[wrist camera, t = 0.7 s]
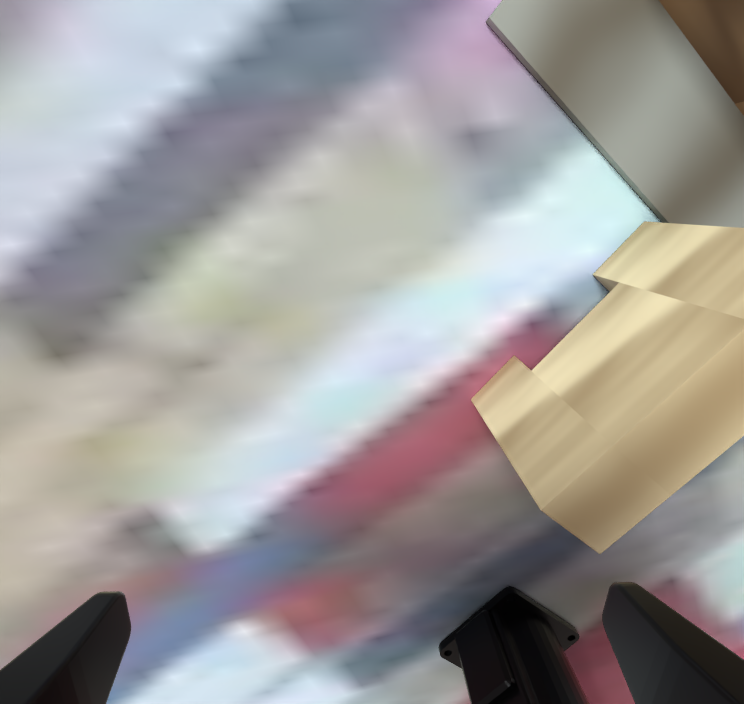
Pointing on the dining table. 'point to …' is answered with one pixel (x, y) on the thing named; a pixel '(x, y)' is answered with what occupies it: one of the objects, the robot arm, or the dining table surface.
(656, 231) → the birch plate
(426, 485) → the dining table surface
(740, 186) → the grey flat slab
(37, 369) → the dining table surface
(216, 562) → the dining table surface
